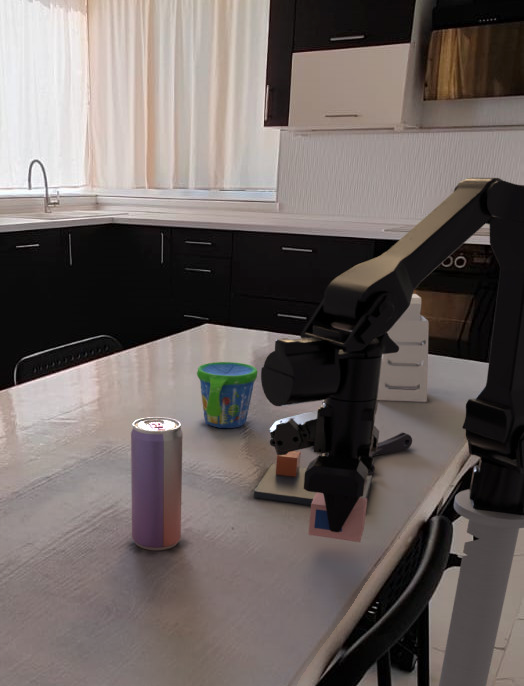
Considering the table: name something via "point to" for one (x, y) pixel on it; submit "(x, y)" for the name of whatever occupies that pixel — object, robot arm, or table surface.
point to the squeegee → (392, 446)
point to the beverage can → (156, 482)
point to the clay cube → (288, 464)
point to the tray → (289, 487)
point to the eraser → (351, 527)
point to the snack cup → (226, 392)
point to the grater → (406, 358)
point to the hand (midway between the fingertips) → (337, 523)
